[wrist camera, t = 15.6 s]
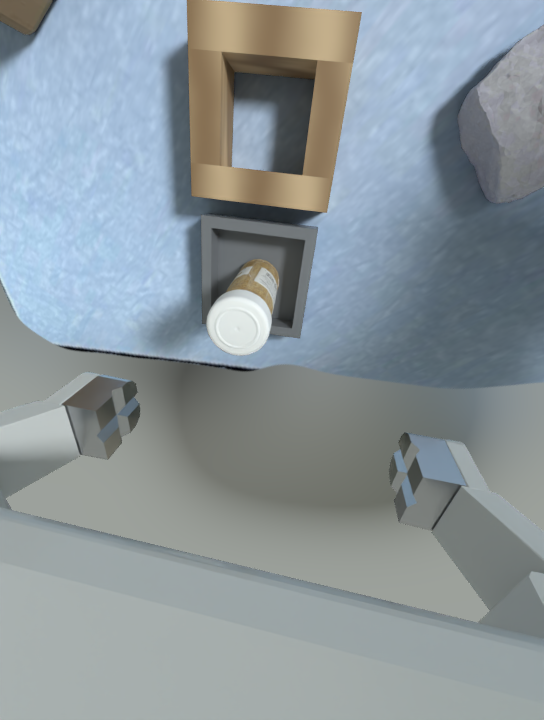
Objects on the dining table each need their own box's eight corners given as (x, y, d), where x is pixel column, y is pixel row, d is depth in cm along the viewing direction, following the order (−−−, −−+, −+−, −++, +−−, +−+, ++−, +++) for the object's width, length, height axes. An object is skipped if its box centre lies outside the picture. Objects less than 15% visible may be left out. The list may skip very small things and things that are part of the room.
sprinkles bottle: (236, 259, 32) (198, 298, 20) (278, 256, 31) (266, 295, 19) (241, 301, 34) (210, 358, 22) (281, 299, 33) (272, 357, 22)
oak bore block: (354, 40, 23) (361, 12, 20) (325, 211, 29) (326, 212, 26) (205, 27, 24) (186, -2, 21) (206, 196, 30) (191, 196, 26)
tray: (317, 226, 30) (317, 229, 27) (301, 328, 35) (299, 338, 33) (210, 213, 31) (201, 215, 28) (210, 314, 36) (202, 323, 33)
